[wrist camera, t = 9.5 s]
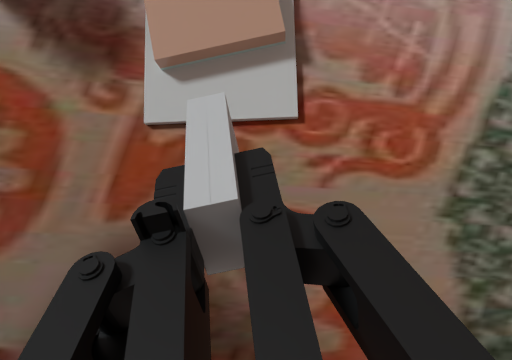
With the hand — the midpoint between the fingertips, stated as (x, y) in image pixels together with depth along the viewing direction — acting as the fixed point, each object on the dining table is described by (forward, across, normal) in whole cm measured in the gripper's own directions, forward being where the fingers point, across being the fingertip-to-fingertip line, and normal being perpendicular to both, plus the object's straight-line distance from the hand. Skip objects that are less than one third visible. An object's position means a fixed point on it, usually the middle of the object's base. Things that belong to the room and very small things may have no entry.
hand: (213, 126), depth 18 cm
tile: (+17, 0, -3) cm, 18 cm away
